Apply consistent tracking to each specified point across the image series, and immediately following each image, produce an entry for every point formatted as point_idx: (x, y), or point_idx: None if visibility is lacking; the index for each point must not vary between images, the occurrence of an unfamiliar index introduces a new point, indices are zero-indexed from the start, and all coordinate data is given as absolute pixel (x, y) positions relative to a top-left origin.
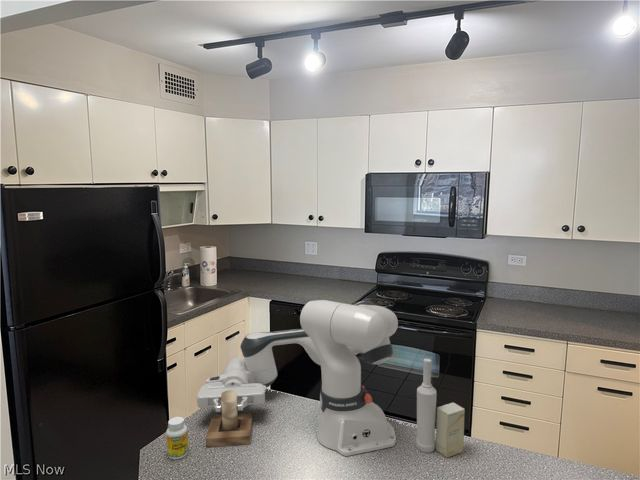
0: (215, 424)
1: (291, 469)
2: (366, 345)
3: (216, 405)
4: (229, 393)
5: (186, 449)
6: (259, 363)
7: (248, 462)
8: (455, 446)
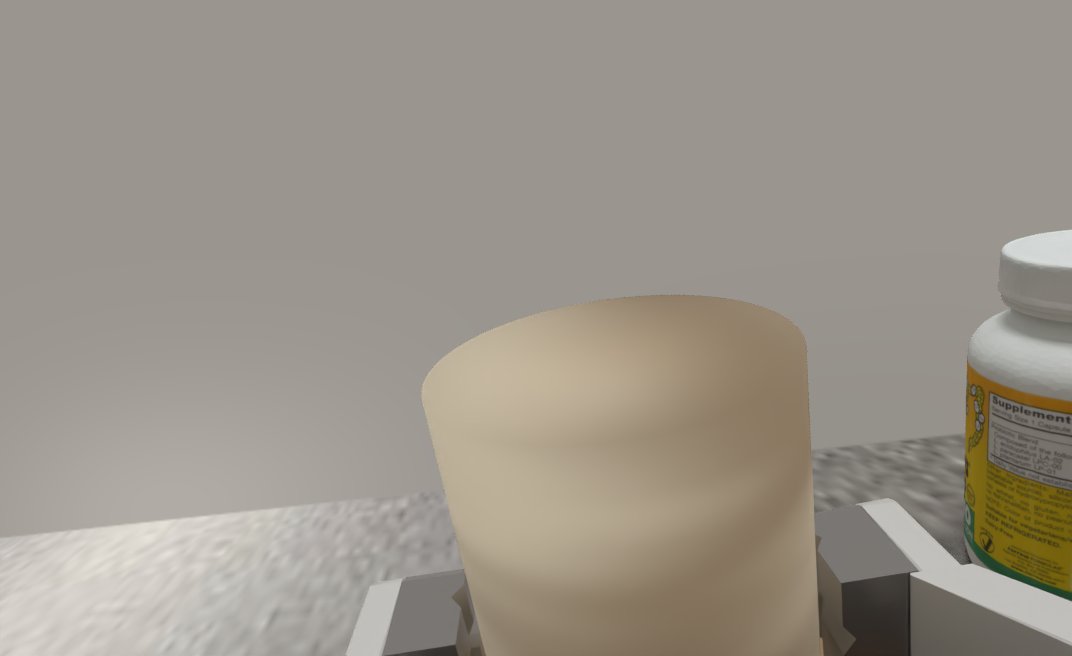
0: None
1: (220, 535)
2: None
3: (903, 523)
4: (594, 362)
5: (966, 513)
6: None
7: (449, 552)
8: None
